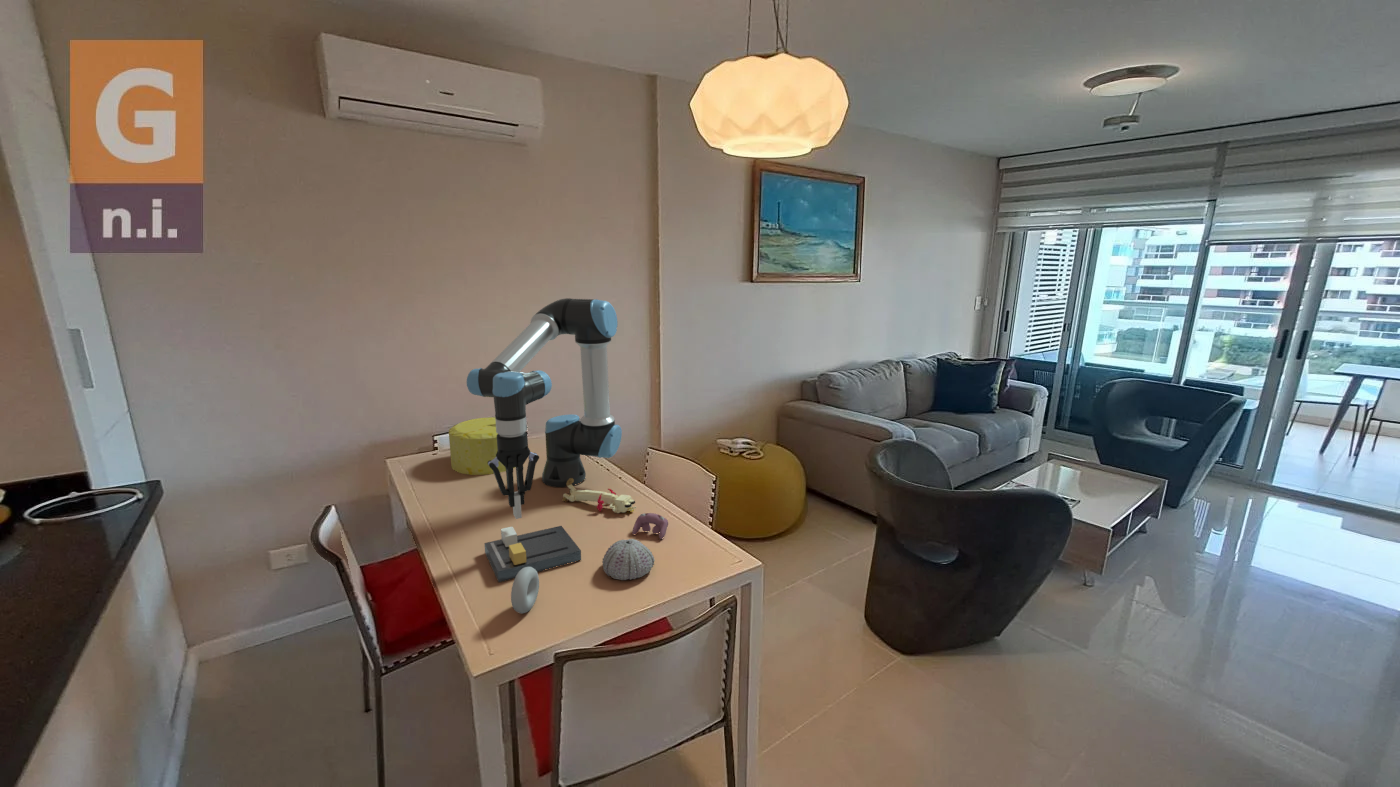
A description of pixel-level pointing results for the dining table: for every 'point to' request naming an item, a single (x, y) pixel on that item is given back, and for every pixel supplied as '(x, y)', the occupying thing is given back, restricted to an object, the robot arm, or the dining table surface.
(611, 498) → the cream elongated figure
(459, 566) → the dining table surface
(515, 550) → the amber block
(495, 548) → the fader console
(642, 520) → the purple arched piece
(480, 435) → the cheese
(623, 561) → the sea urchin shell
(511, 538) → the block
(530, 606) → the donut
